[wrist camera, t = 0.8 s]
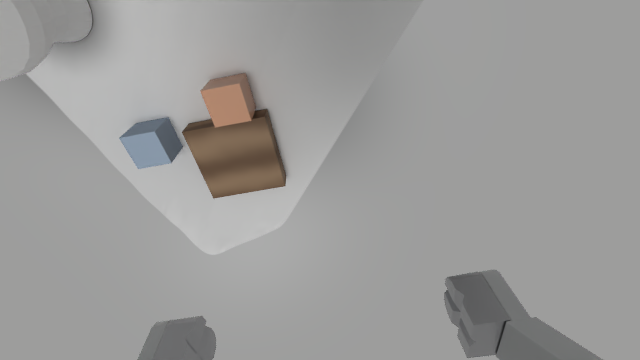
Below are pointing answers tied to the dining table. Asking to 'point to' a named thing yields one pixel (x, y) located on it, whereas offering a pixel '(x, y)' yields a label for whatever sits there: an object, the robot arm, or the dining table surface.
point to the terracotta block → (229, 100)
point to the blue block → (152, 143)
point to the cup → (38, 31)
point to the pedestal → (237, 155)
